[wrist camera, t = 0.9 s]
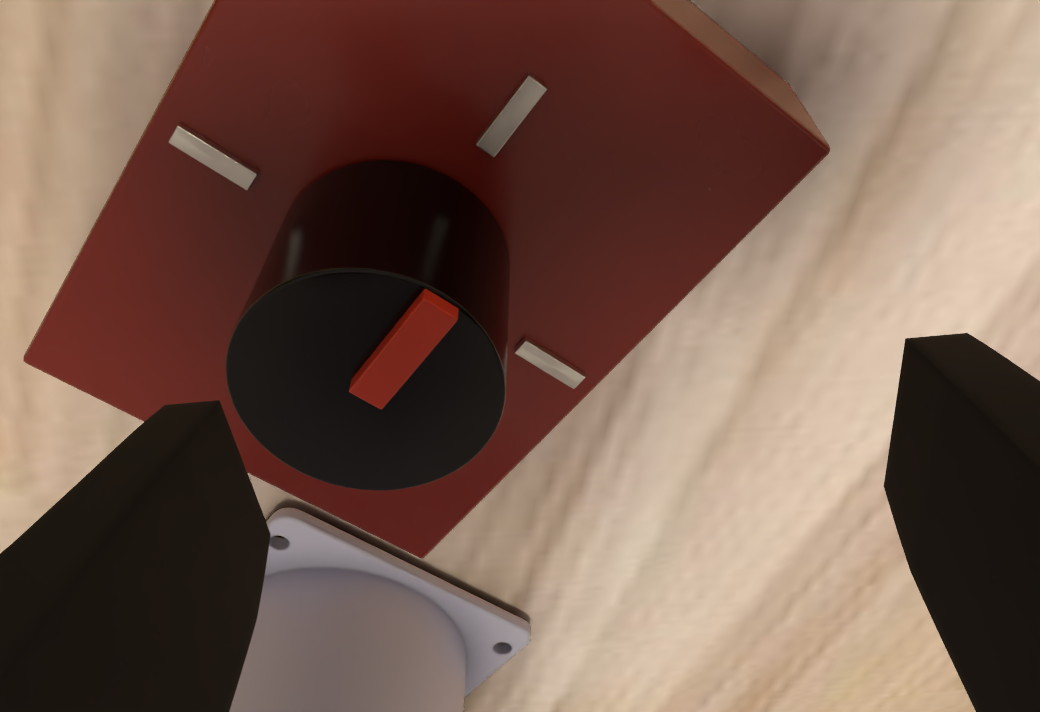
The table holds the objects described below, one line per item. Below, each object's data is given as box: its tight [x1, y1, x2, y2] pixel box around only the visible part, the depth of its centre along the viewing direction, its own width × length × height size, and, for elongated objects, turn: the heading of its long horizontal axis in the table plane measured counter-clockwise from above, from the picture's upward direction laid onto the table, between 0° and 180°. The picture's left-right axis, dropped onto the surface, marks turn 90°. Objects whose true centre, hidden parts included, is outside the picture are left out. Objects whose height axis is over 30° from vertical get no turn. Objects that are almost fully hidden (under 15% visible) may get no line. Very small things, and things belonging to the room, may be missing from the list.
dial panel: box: [24, 0, 830, 558], centre depth 17 cm, size 12×9×3 cm
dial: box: [226, 160, 510, 491], centre depth 15 cm, size 4×4×4 cm
